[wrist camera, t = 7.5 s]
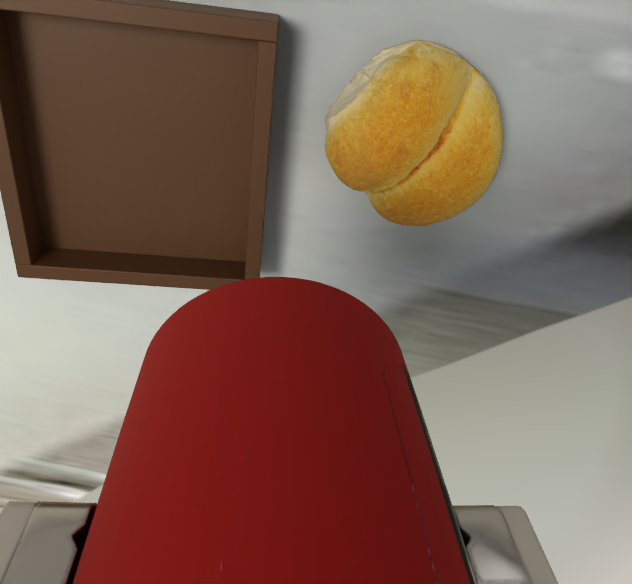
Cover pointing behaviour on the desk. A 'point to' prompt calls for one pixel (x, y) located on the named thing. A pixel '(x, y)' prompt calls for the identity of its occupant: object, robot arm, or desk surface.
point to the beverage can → (274, 452)
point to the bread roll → (416, 133)
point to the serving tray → (135, 139)
